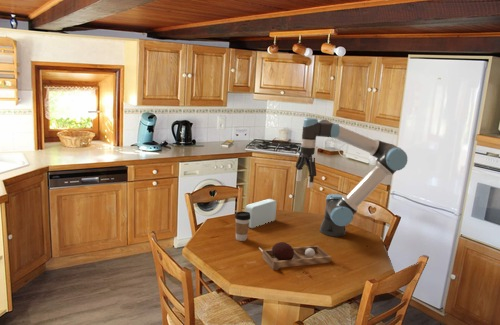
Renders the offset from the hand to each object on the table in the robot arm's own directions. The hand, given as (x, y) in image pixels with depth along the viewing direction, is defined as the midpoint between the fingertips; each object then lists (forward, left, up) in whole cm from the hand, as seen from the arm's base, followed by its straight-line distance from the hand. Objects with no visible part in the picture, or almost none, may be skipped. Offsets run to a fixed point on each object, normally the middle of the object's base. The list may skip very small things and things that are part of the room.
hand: (304, 184), depth 245 cm
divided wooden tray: (+15, +27, -32) cm, 44 cm away
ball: (+8, +27, -31) cm, 42 cm away
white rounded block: (+13, -26, -32) cm, 44 cm away
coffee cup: (+33, -5, -32) cm, 46 cm away
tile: (+25, +14, -32) cm, 43 cm away
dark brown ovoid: (+23, +27, -31) cm, 47 cm away
